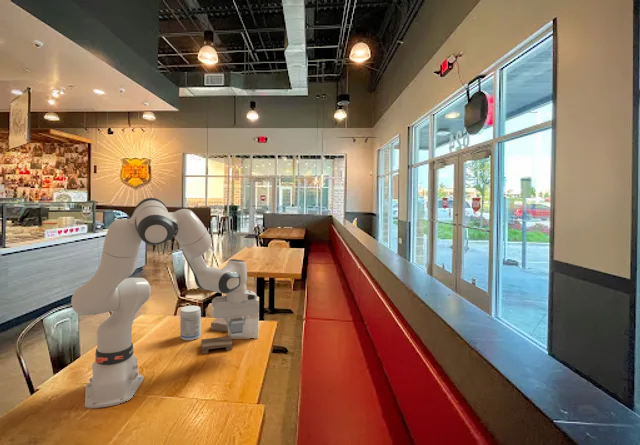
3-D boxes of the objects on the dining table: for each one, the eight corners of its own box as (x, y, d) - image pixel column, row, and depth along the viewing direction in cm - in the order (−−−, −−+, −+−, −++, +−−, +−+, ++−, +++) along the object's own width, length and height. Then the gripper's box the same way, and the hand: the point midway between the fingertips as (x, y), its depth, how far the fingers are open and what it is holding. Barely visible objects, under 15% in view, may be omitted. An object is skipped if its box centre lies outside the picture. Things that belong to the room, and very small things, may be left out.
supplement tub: (182, 333, 179) (182, 305, 178) (202, 333, 180) (202, 304, 179) (178, 341, 169) (178, 311, 168) (198, 340, 171) (198, 311, 170)
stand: (232, 349, 162) (232, 343, 162) (202, 353, 157) (202, 347, 157) (229, 342, 170) (229, 336, 170) (201, 345, 166) (201, 339, 165)
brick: (246, 328, 189) (246, 319, 189) (239, 334, 181) (239, 325, 181) (217, 325, 192) (217, 316, 192) (210, 330, 184) (210, 322, 184)
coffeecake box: (258, 333, 182) (259, 296, 181) (258, 338, 175) (258, 300, 174) (229, 333, 180) (229, 296, 179) (227, 339, 173) (227, 300, 172)
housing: (243, 334, 155) (243, 320, 154) (231, 336, 153) (231, 321, 152) (239, 327, 163) (239, 313, 162) (228, 328, 161) (228, 314, 160)
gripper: (212, 299, 149) (212, 330, 151) (260, 295, 157) (259, 325, 159) (211, 294, 155) (210, 325, 156) (257, 291, 163) (256, 320, 164)
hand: (235, 325), depth 158 cm, fingers closed on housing, 5 cm apart
